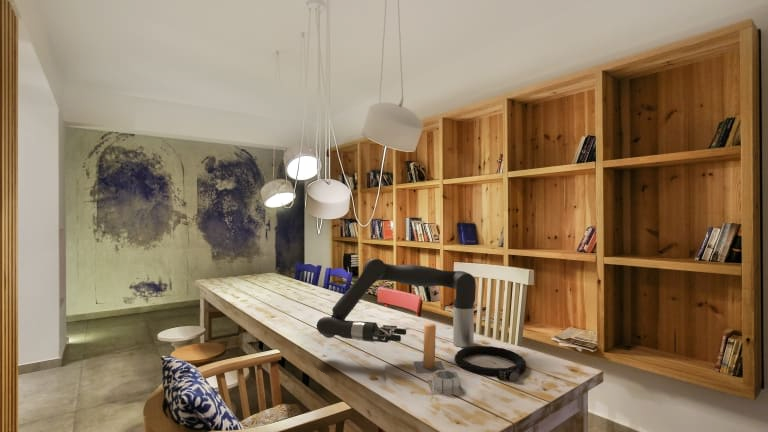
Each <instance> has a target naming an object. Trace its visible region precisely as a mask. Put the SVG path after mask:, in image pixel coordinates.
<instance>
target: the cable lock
mask: <svg viewBox="0 0 768 432" xmlns="http://www.w3.org/2000/svg"><path fill="white" fill-rule="evenodd" d="M475 355H480V356H481V355H489V356H495V357H496V356H497V357H500V358H505V359H508V360H510V361H512V362H514V363H515V365H512V366H509V367H495V368H494V367H488V366H486V367H485V366H481V365H477V364H475V363H471V362H469V361H466V360H465V358H468V357H469V356H475ZM454 362H455V364H456V365H457V366H459V367H460V368H461V369H463V370H465V371H468V372H470V373H472V374H477V375H481V376H487V377H496V378H497V379H498V380H506V381H508V382H511V383H512V382H518V380H519V377H520V375H522V373H524V372H526V369H527V362H526V360H525V359H524V357H523V356H521V355H520V354H519V353H516V352H514V351H513V350H509V349H506V348H504V347H497V346H490V345H488V346H487V345H475V346H474V345H473V346H472V347H463V348H461V349H460V350H457V352H456V354H455V355H454Z"/></svg>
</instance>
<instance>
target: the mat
mask: <svg viewBox="0 0 768 432" xmlns="http://www.w3.org/2000/svg"><path fill="white" fill-rule="evenodd" d="M413 365H414V368H415V369H414V370H415V371H416V374H432V373H433V372H435V371H437V370H446V369H445V367H444V365H443V362H442V361H441V360H437V361H436V360H435V368H433V369H426V368H424V367H423V361H421V360H420V361H419V360H417V361H413Z"/></svg>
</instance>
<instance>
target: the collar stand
mask: <svg viewBox="0 0 768 432" xmlns="http://www.w3.org/2000/svg"><path fill="white" fill-rule="evenodd" d="M431 374H432V379H427V380H426V381H427V385H428V387H429V390H430V393H431V395H432V396H433V395H434V396H437V395H438V396H439V395H442V396H446V395H447V396H448V395H466V392H465V391H464V389H463V387H462V385H461V382H460V379H459V377H460V376H459V374H458V373H457V372H455V371H452V370H449V369H445V370H437V371H435V372H433V373H431Z"/></svg>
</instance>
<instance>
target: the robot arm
mask: <svg viewBox="0 0 768 432" xmlns="http://www.w3.org/2000/svg"><path fill="white" fill-rule="evenodd" d="M377 281H388V282H389V281H390V282H396V283H398V284H399V283H400V284H404V285H410V286H416V287H424V288H425V287H426V288H427V287H444V288H445V287H446V288H451V289H453V290H455V299H454V300H453V301H452V302H453V303H452V304H453V305H452V306H453V314H452V317H453V321H452V322H453V323H452V324H453V331H452V332H453V333H452V334H453V338H452V339H453V343H452V344H453V345H454V346H457V347H460V348H467V347H472V346H474V345H475V340H474V339H475V337H474V335H475V333H474V330H475V325H474V324H475V323H474V319H475V317H474V316H475V315H474V313H475V309H474V305H475V302H476V287H477V285H476V279H475V277H474V275H472V274H471V273H468V272H465V271H463V270H444V269H443V270H442V269H439V268H434V267H430V266H424V265H418V264H417V265H416V264H389V263H385V262H384V261H383V260H382V259H380V258H371V259H368V260H367V261H366V262H365V263H364V265H363V267H362V272H361V274H360V275H359V276H358V278H357V279H356V280H355V282H354V283H353V284H352V286H350V287H349V288H348V289H347V290H346V292H345V293H344V294H343V295H342V296H341V297H340V298H339V299H338V300H337V302H336V303H335V305H334V306H333V307H332V314H331V316H324V317H321V318H319V319H318V320H317V322H316V330H317V332H318V333H320V334H321V335H322V336H323V337H325V338H326V339H332V338H333V337H336V336H338V337H340V338H343V339H349V340H356V341H361V342H370V343H375V342H380V343H386V344H387V343H389V342H401V341H402V336H401V335H403V336H405V335H407V329H406V328H398V326H397V325H389V324H388V325H387V324H383V325H382V326H381V327H379V325H378V323H377V322H371V321H361V320H357V321H356V320H346V318H347V317H349V315H350V313H352V311H353V310H354V309H355V307H356V306H357V304H358V303H359V302H360V300H361V299H362V298H363V296H364V295H365V294H366V293H367V291H368V290H369V289H370V288H371V287H372V286H373V285H374V284H375V283H376V282H377Z"/></svg>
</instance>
